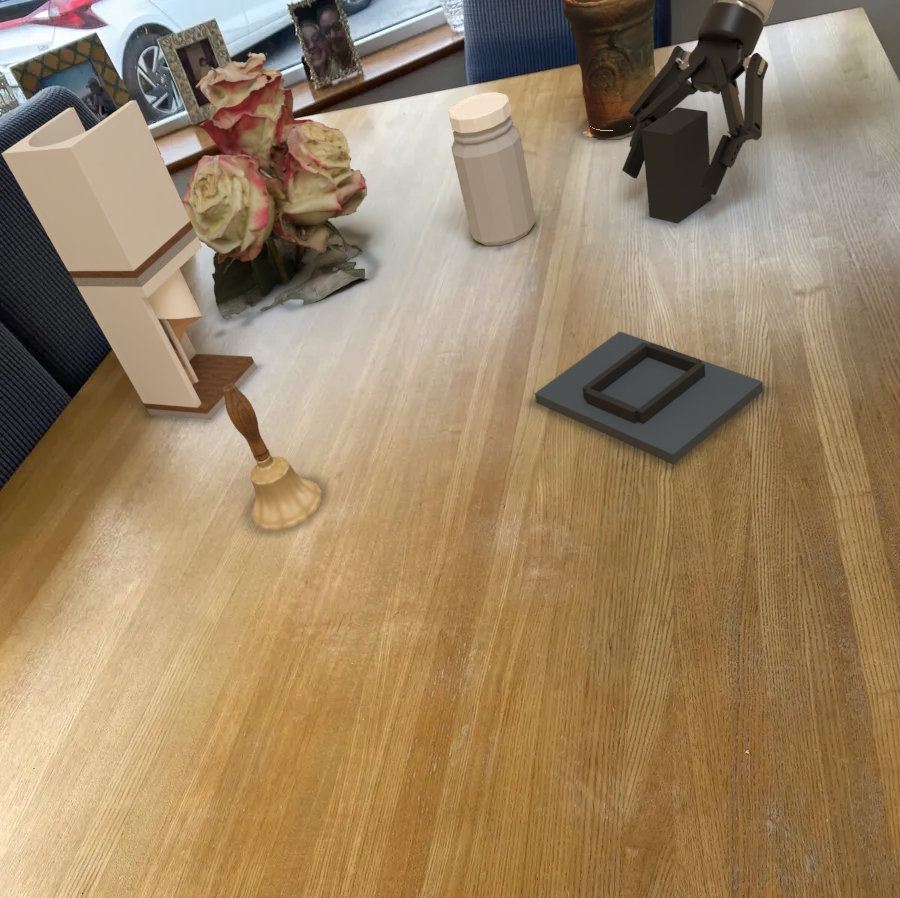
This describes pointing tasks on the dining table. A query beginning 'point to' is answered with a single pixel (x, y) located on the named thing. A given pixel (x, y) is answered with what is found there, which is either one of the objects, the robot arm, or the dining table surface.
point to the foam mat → (649, 395)
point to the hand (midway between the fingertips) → (667, 182)
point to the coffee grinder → (126, 252)
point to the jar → (491, 169)
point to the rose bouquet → (270, 191)
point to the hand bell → (271, 473)
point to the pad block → (676, 164)
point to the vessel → (613, 60)
